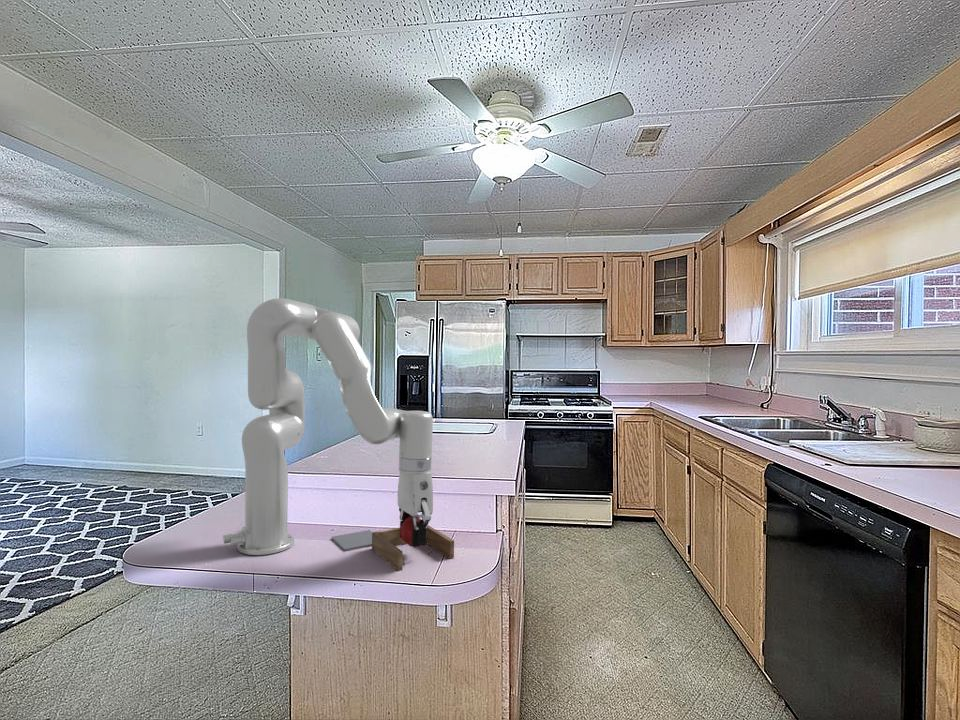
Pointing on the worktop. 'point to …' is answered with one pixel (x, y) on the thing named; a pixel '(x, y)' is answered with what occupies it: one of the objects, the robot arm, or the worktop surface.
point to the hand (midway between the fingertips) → (412, 540)
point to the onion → (408, 530)
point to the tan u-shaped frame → (391, 538)
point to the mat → (354, 540)
